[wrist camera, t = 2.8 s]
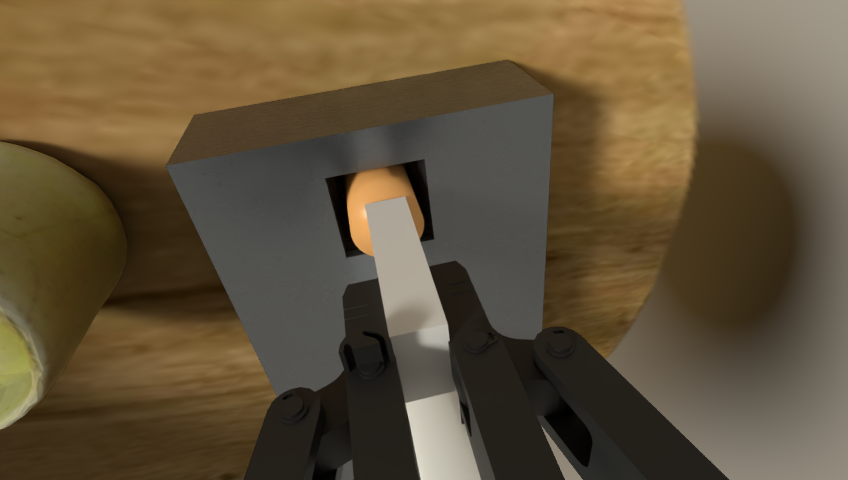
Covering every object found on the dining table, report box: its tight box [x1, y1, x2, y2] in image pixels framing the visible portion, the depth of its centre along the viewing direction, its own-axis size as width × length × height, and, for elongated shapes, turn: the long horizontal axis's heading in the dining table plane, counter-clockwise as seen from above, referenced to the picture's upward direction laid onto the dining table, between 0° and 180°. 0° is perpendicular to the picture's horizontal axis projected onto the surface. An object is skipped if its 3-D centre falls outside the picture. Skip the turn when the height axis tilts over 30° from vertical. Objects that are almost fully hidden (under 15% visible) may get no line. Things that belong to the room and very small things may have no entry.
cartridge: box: [405, 387, 481, 480], centre depth 22 cm, size 5×5×15 cm
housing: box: [166, 60, 554, 480], centre depth 26 cm, size 14×24×5 cm, turn 7°
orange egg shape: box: [343, 163, 424, 257], centre depth 20 cm, size 3×3×6 cm
